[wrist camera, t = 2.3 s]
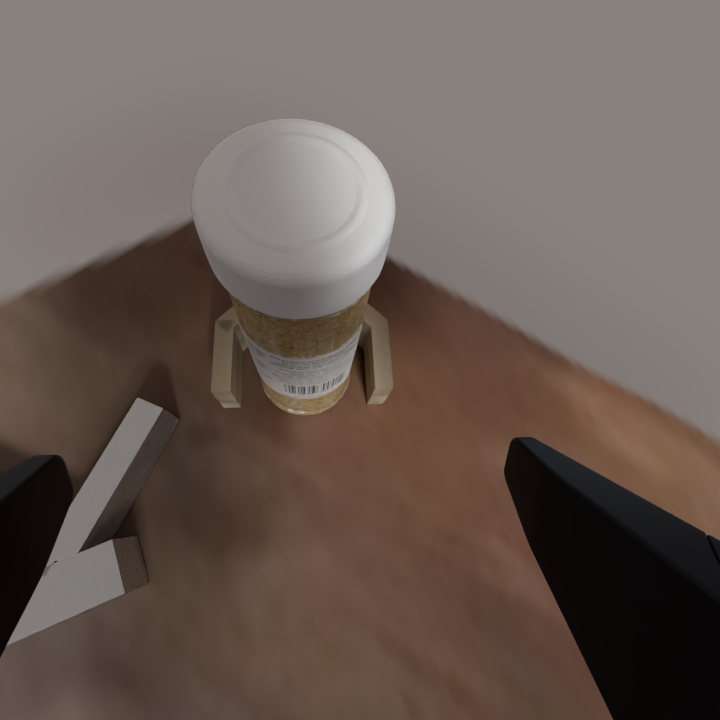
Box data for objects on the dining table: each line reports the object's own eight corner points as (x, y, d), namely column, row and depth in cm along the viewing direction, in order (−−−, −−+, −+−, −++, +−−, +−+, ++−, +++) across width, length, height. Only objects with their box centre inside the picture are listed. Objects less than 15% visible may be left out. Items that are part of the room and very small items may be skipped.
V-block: (219, 551, 19) (206, 557, 16) (-38, 665, 17) (-96, 690, 14) (175, 403, 21) (157, 390, 18) (-62, 487, 18) (-116, 484, 16)
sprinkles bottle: (351, 336, 23) (400, 120, 10) (347, 421, 21) (400, 290, 9) (264, 329, 22) (203, 96, 10) (253, 415, 21) (166, 270, 8)
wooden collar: (383, 403, 22) (393, 387, 19) (223, 407, 21) (210, 391, 18) (375, 304, 24) (384, 276, 21) (229, 304, 23) (217, 275, 20)
